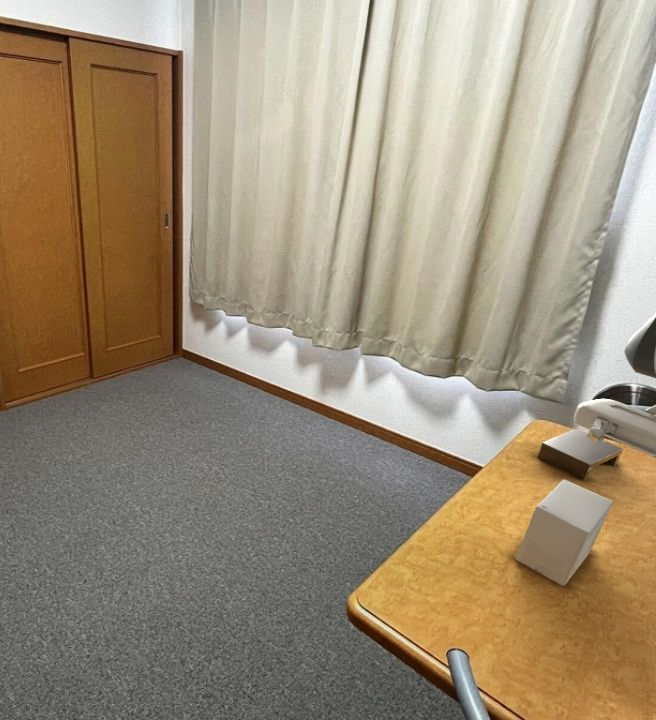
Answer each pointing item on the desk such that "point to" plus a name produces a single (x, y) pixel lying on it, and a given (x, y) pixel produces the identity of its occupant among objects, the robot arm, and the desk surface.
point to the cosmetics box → (563, 531)
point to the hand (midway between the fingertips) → (630, 451)
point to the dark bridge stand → (578, 453)
